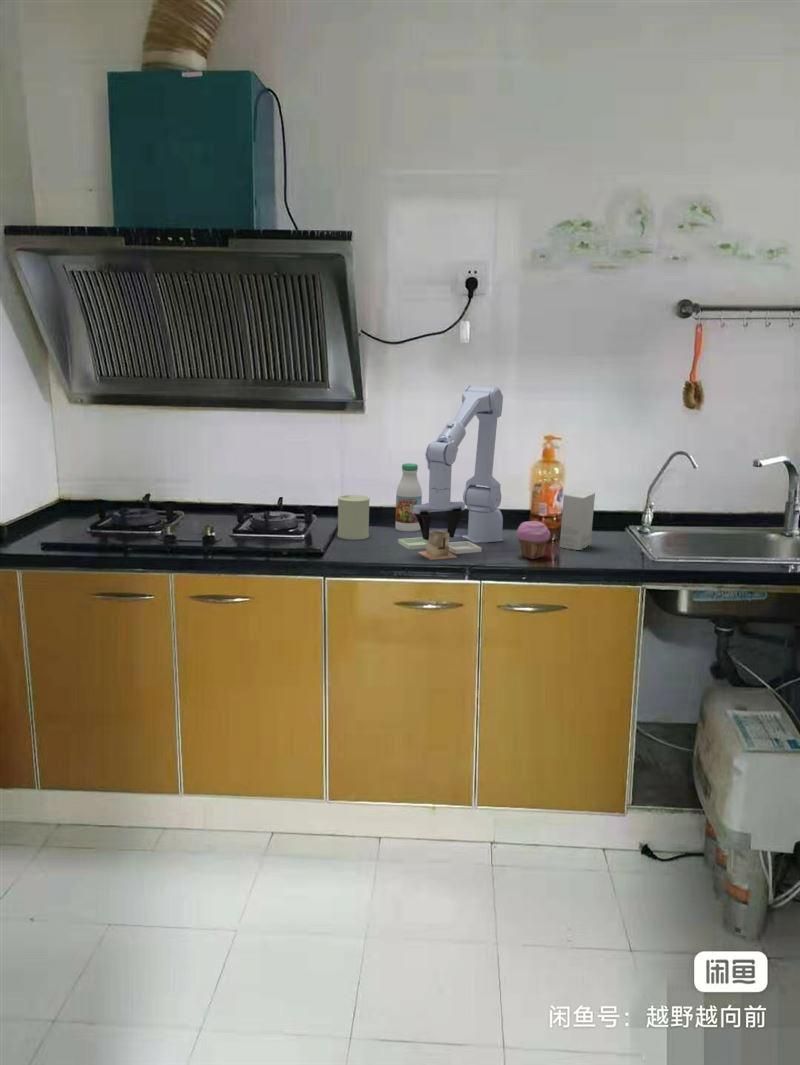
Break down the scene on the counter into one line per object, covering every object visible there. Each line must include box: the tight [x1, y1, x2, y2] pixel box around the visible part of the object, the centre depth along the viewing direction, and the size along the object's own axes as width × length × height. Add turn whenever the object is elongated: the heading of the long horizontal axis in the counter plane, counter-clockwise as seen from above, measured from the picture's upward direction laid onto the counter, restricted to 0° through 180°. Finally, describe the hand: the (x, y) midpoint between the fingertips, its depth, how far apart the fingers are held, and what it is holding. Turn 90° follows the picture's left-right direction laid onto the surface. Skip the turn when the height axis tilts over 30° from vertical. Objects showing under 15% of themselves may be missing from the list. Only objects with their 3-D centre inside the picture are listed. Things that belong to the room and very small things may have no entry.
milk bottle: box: [395, 463, 423, 532], centre depth 259 cm, size 8×8×20 cm
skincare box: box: [559, 489, 596, 551], centre depth 243 cm, size 8×7×16 cm
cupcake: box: [515, 520, 551, 560], centre depth 231 cm, size 9×9×10 cm
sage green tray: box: [397, 536, 426, 551], centre depth 241 cm, size 8×8×2 cm
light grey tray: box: [449, 540, 483, 555], centre depth 237 cm, size 8×8×2 cm
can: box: [337, 494, 370, 540], centre depth 249 cm, size 9×9×12 cm
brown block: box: [425, 529, 450, 557], centre depth 230 cm, size 4×4×6 cm
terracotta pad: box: [417, 550, 458, 561], centre depth 231 cm, size 8×8×1 cm
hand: (438, 538), depth 230 cm, fingers open, 7 cm apart
